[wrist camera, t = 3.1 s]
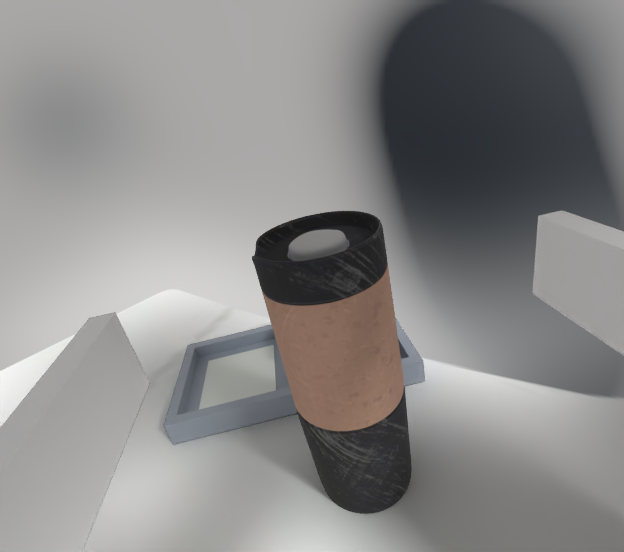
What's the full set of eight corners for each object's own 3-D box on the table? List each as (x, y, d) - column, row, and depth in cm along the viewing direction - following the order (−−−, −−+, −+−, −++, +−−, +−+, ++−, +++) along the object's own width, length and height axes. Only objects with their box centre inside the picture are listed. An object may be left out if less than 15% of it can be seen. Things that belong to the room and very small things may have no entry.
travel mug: (433, 457, 29) (410, 212, 21) (378, 542, 25) (320, 273, 16) (355, 416, 34) (311, 207, 26) (298, 480, 30) (221, 252, 21)
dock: (384, 314, 48) (382, 297, 47) (424, 380, 37) (423, 360, 35) (194, 360, 48) (187, 345, 46) (173, 444, 36) (163, 426, 35)
